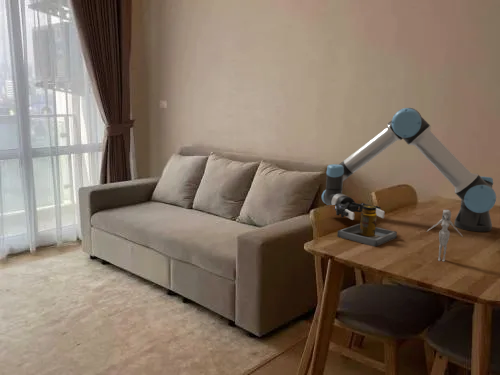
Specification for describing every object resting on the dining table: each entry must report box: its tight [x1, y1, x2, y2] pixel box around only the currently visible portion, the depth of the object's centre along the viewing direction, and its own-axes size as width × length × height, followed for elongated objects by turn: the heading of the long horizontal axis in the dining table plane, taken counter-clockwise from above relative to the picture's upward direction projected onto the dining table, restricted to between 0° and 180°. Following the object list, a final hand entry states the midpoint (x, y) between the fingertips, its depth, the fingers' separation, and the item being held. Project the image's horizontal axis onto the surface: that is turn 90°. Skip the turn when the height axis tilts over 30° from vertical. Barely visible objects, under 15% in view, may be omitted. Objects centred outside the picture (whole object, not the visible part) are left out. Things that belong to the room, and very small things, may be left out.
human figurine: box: [426, 209, 464, 262], centre depth 170 cm, size 12×4×18 cm, turn 64°
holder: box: [337, 222, 398, 247], centre depth 196 cm, size 17×17×2 cm
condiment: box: [352, 204, 379, 238], centre depth 195 cm, size 7×8×12 cm
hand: (368, 215), depth 194 cm, fingers open, 13 cm apart
